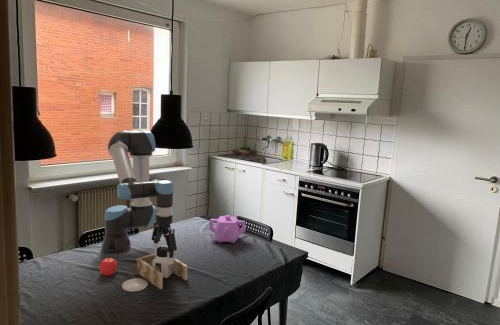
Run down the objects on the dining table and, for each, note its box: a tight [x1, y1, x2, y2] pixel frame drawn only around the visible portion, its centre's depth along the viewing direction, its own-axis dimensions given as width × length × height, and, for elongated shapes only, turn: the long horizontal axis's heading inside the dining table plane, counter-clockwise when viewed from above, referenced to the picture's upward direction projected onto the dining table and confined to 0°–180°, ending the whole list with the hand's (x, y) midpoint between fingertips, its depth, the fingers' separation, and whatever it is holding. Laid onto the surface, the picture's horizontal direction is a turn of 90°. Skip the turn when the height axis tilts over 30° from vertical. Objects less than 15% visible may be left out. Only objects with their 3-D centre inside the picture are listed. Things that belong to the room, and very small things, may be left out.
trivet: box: [121, 277, 149, 293], centre depth 170 cm, size 11×11×1 cm
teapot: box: [208, 214, 246, 244], centre depth 228 cm, size 19×18×15 cm
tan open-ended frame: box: [136, 253, 188, 290], centre depth 180 cm, size 21×14×7 cm
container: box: [152, 245, 175, 279], centre depth 178 cm, size 8×8×13 cm
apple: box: [99, 257, 118, 277], centre depth 179 cm, size 8×8×8 cm
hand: (163, 259), depth 178 cm, fingers closed on container, 10 cm apart
